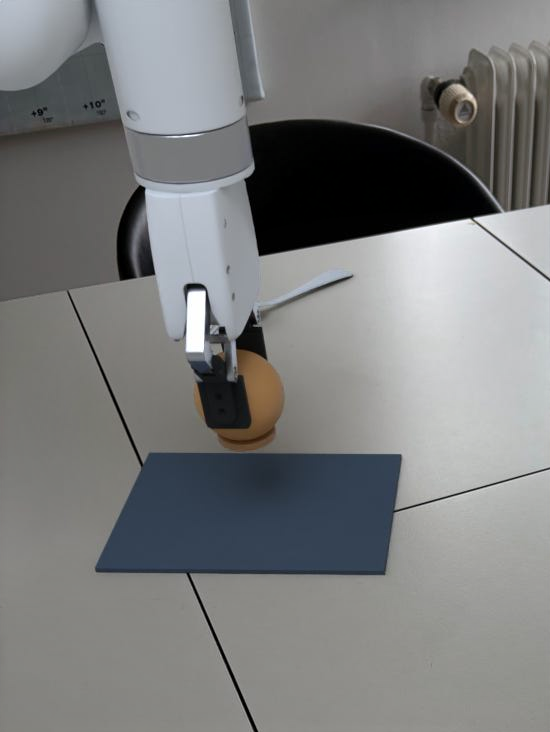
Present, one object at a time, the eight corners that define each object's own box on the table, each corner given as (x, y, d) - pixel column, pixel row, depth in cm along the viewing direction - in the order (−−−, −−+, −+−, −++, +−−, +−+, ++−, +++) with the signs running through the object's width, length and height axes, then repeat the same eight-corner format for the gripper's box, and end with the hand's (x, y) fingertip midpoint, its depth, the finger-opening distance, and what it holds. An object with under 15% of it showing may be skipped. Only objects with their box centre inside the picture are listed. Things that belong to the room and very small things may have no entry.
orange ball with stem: (194, 459, 77) (171, 360, 72) (213, 413, 82) (193, 317, 77) (283, 460, 77) (266, 360, 72) (296, 413, 82) (282, 316, 76)
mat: (95, 572, 79) (94, 568, 79) (150, 456, 91) (149, 452, 90) (384, 574, 78) (384, 570, 78) (401, 457, 90) (401, 453, 90)
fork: (357, 296, 119) (357, 272, 117) (216, 346, 105) (213, 319, 104) (339, 290, 120) (339, 266, 118) (197, 338, 107) (194, 311, 105)
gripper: (165, 106, 72) (214, 346, 84) (90, 199, 59) (161, 465, 71) (273, 106, 72) (306, 346, 84) (221, 198, 59) (269, 465, 71)
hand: (239, 399), depth 77 cm, fingers closed on orange ball with stem, 6 cm apart
